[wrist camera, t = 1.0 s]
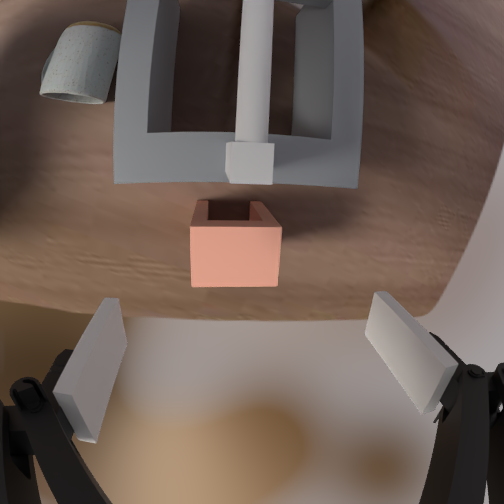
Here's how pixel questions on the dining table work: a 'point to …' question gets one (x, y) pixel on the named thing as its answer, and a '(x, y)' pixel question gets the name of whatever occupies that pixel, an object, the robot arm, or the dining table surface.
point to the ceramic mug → (82, 63)
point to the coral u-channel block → (235, 249)
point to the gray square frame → (244, 101)
